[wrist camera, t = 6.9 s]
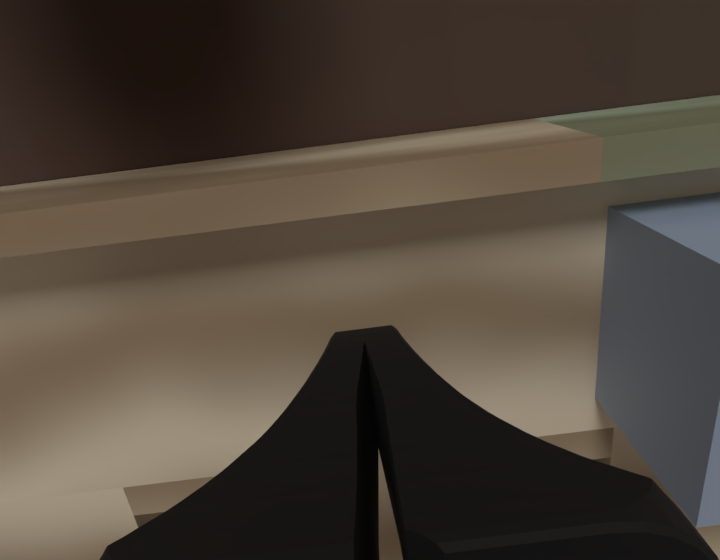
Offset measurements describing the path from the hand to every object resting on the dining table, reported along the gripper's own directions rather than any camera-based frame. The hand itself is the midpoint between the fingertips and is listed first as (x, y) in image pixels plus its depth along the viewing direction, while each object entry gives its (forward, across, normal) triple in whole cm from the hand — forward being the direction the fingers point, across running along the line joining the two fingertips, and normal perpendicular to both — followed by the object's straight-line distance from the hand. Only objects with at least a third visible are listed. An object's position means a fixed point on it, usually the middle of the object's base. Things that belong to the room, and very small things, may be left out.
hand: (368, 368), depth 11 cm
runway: (+3, 0, +3) cm, 5 cm away
